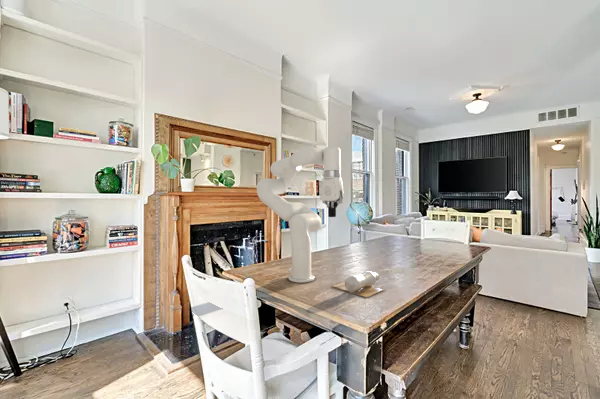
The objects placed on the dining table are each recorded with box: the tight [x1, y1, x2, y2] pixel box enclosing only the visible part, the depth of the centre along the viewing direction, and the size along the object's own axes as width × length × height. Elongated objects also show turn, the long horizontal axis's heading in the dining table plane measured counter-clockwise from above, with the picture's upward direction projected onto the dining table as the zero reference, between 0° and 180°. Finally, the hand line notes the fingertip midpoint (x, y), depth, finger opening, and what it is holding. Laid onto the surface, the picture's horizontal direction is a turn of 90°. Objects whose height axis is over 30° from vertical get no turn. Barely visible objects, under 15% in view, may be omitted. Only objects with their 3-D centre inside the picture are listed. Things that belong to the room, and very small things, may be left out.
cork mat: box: [332, 281, 384, 298], centre depth 122 cm, size 18×12×1 cm, turn 42°
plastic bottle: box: [344, 270, 380, 293], centre depth 122 cm, size 6×7×20 cm
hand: (332, 216), depth 124 cm, fingers closed
